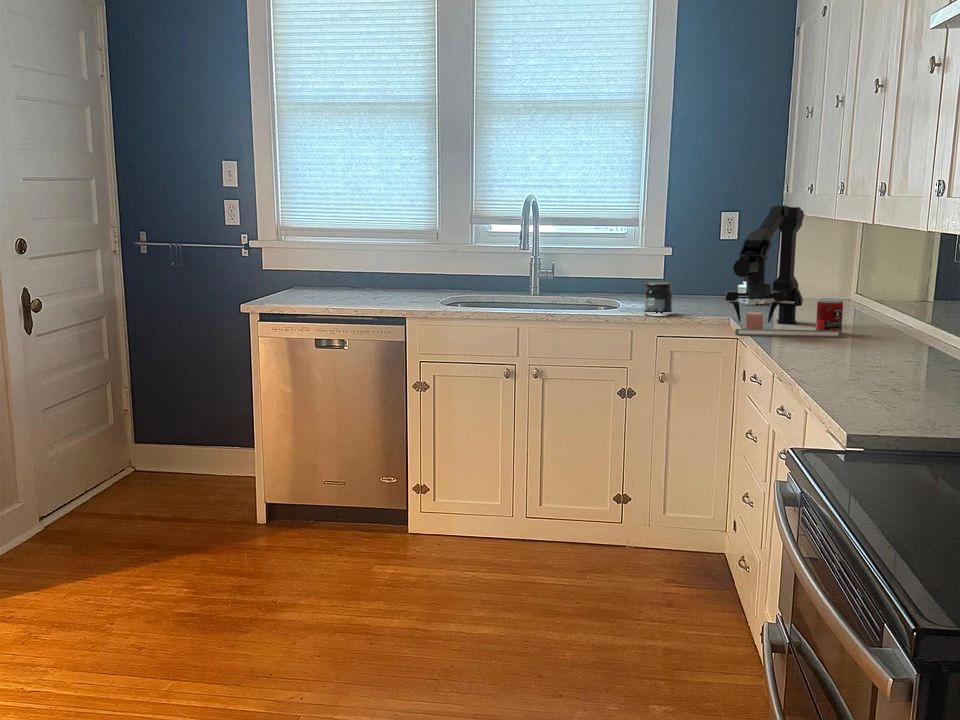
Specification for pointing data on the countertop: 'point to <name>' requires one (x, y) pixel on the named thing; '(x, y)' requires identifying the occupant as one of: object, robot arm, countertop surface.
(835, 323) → the canned food
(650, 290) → the supplement container
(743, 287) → the container
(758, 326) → the salmon pink block
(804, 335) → the price rail
